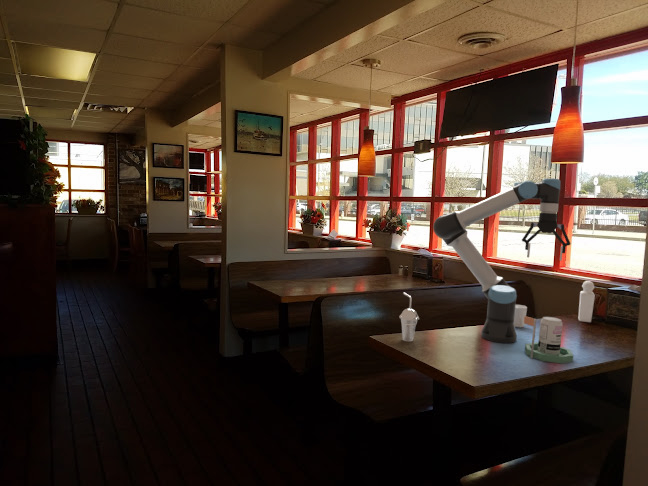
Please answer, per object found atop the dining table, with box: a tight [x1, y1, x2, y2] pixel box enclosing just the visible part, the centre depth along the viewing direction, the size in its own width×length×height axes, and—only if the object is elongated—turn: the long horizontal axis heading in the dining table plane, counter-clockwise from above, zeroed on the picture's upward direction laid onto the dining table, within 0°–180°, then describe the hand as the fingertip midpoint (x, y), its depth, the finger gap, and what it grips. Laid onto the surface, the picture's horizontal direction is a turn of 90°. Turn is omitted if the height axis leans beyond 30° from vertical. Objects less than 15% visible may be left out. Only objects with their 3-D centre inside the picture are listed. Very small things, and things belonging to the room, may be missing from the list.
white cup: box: [514, 304, 528, 328], centre depth 237 cm, size 8×8×10 cm
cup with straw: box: [399, 292, 420, 342], centre depth 203 cm, size 8×9×20 cm
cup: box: [524, 315, 574, 364], centre depth 191 cm, size 19×17×16 cm
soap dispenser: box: [578, 280, 596, 323], centre depth 254 cm, size 6×6×22 cm
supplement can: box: [537, 316, 564, 356], centre depth 191 cm, size 8×8×15 cm
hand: (544, 258), depth 216 cm, fingers open, 13 cm apart
